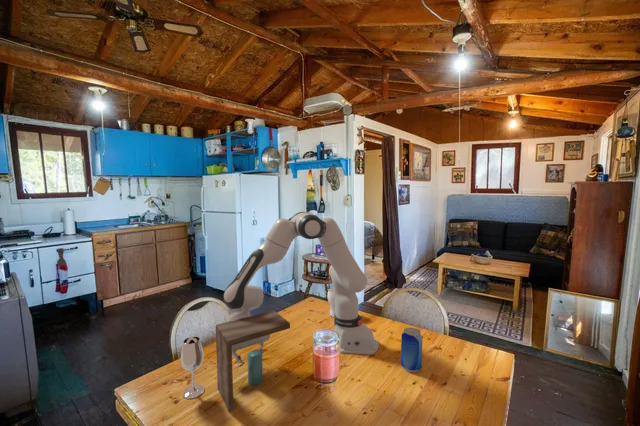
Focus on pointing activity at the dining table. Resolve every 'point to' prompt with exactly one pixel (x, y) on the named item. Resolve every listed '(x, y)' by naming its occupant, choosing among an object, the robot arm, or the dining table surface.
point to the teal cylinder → (255, 367)
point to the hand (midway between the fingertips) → (250, 357)
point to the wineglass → (192, 364)
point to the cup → (331, 301)
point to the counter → (237, 334)
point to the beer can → (411, 350)
